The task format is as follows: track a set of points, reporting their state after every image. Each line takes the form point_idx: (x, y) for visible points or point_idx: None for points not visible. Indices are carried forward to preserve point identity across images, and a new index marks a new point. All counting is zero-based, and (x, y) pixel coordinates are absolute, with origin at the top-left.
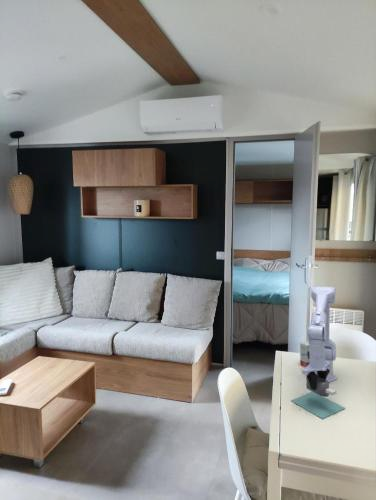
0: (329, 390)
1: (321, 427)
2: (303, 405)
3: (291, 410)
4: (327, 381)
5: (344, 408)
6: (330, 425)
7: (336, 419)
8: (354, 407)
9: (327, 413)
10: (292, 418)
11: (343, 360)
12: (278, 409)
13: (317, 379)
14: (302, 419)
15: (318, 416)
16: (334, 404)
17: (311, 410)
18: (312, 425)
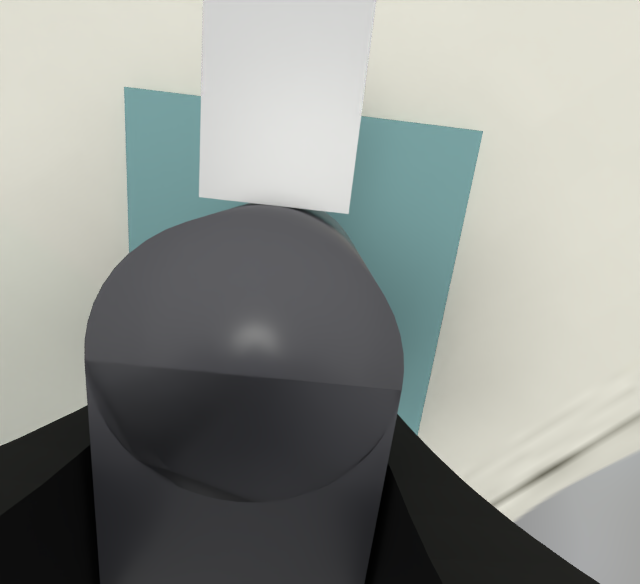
0: (326, 117)
1: (614, 52)
2: (404, 378)
3: (527, 396)
4: (118, 317)
5: (136, 89)
6: (523, 8)
7: (377, 32)
8: (16, 35)
9: (365, 151)
10: (636, 320)
11: None
12: (582, 463)
13: (252, 543)
14: (597, 257)
15: (468, 184)
16: (160, 205)
17: (427, 286)
18: (634, 136)
